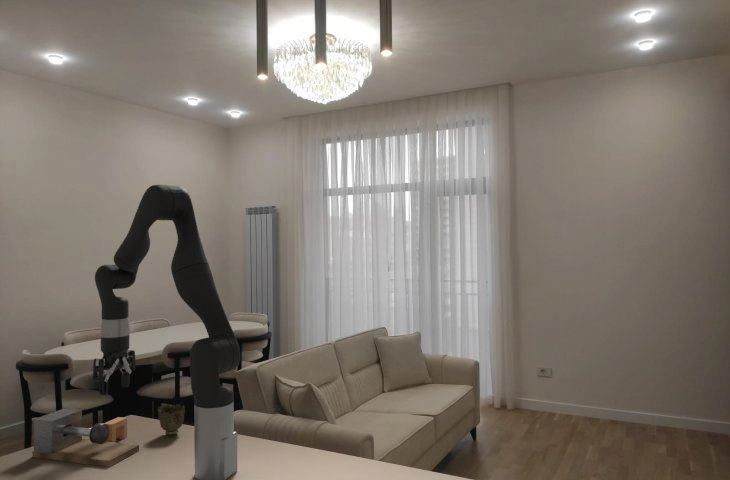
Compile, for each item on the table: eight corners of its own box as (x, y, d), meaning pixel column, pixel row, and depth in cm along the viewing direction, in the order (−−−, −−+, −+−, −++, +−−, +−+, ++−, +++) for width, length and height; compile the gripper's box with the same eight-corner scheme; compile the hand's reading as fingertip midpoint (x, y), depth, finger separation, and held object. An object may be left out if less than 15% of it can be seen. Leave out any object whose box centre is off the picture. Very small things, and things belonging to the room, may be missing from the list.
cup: (176, 440, 154) (176, 412, 154) (153, 438, 155) (153, 410, 155) (189, 431, 161) (189, 404, 161) (167, 429, 163) (167, 403, 163)
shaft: (109, 440, 144) (109, 421, 144) (95, 446, 140) (95, 427, 140) (73, 436, 148) (73, 417, 148) (58, 442, 143) (58, 423, 143)
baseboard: (139, 450, 146) (139, 445, 146) (109, 466, 135) (109, 460, 135) (65, 442, 153) (65, 437, 153) (32, 457, 142) (32, 451, 142)
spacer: (127, 437, 157) (127, 417, 157) (112, 444, 151) (112, 424, 151) (118, 436, 157) (118, 417, 157) (103, 443, 152) (103, 423, 152)
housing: (81, 440, 150) (81, 409, 150) (52, 453, 140) (52, 421, 140) (64, 438, 152) (64, 408, 152) (33, 451, 142) (33, 419, 142)
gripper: (107, 339, 146) (107, 398, 146) (142, 330, 160) (142, 385, 160) (85, 337, 148) (85, 396, 148) (121, 329, 162) (121, 383, 162)
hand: (115, 390), depth 154 cm, fingers open, 8 cm apart
